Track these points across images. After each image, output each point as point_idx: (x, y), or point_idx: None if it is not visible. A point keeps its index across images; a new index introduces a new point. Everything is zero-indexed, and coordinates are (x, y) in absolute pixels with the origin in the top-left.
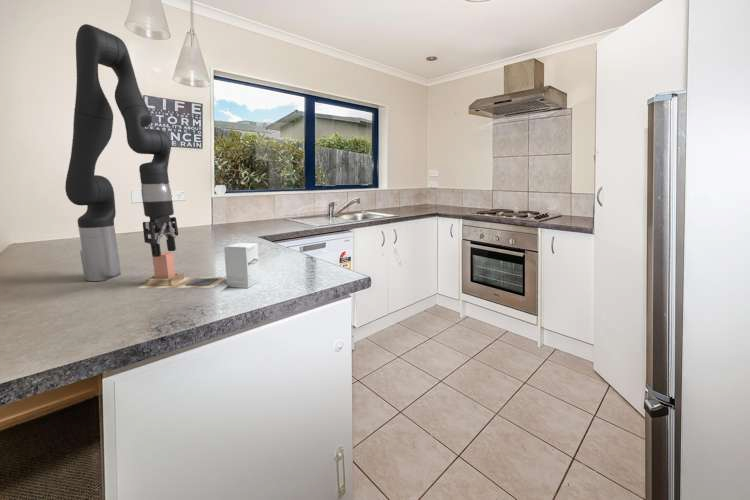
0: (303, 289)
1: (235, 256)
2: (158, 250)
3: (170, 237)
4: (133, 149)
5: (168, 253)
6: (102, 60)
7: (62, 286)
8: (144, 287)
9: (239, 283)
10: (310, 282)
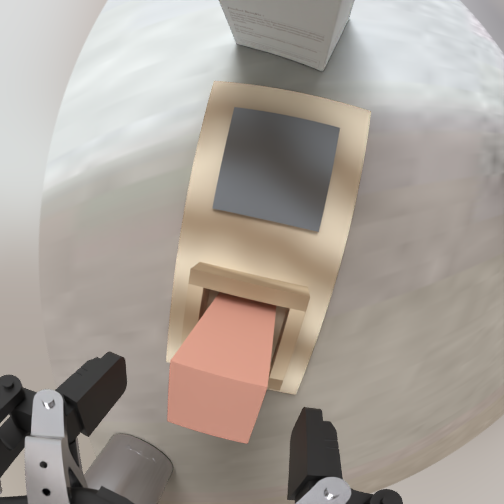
0: None
1: None
2: (320, 439)
3: (70, 425)
4: None
5: (206, 381)
6: None
7: (205, 493)
8: (298, 375)
9: (344, 26)
10: None
